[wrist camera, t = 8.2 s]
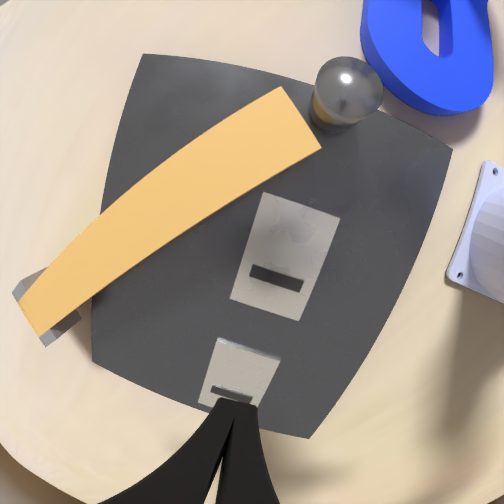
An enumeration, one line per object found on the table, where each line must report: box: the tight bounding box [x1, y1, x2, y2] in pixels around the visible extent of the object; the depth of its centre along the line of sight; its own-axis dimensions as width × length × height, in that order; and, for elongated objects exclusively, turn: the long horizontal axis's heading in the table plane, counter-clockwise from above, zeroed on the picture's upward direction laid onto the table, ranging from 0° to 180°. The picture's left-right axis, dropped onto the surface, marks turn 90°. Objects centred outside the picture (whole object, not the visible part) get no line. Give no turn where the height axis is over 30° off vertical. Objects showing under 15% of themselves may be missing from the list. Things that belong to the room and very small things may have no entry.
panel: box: [92, 54, 453, 439], centre depth 14 cm, size 18×22×6 cm
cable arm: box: [12, 86, 322, 347], centre depth 13 cm, size 20×4×3 cm, turn 122°
